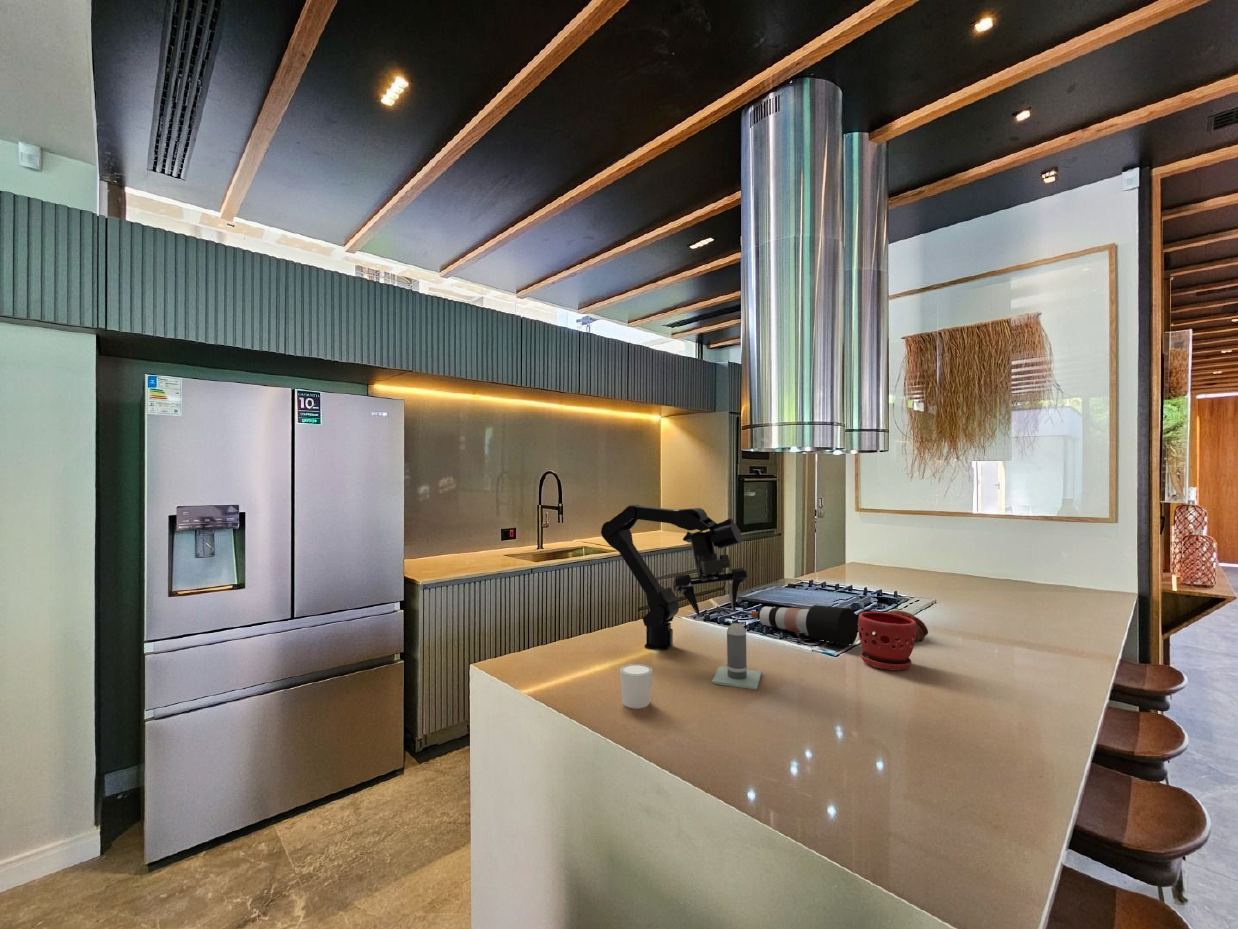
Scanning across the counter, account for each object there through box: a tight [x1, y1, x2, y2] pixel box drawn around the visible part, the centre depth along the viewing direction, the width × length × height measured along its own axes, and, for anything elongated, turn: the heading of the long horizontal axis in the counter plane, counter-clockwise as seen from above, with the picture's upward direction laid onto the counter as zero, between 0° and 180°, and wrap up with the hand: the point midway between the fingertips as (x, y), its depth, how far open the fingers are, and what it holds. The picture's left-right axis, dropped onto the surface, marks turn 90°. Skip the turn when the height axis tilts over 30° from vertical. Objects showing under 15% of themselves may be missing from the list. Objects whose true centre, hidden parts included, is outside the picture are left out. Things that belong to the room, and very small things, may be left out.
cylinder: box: [726, 622, 748, 679], centre depth 127 cm, size 5×5×12 cm
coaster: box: [711, 666, 762, 690], centre depth 127 cm, size 10×10×1 cm
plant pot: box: [857, 611, 916, 671], centre depth 137 cm, size 13×13×12 cm
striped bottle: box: [750, 604, 859, 646], centre depth 164 cm, size 10×34×10 cm, turn 36°
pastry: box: [885, 609, 929, 644], centre depth 160 cm, size 17×15×8 cm
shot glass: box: [619, 663, 653, 710], centre depth 114 cm, size 7×7×7 cm
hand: (716, 613), depth 138 cm, fingers open, 9 cm apart
